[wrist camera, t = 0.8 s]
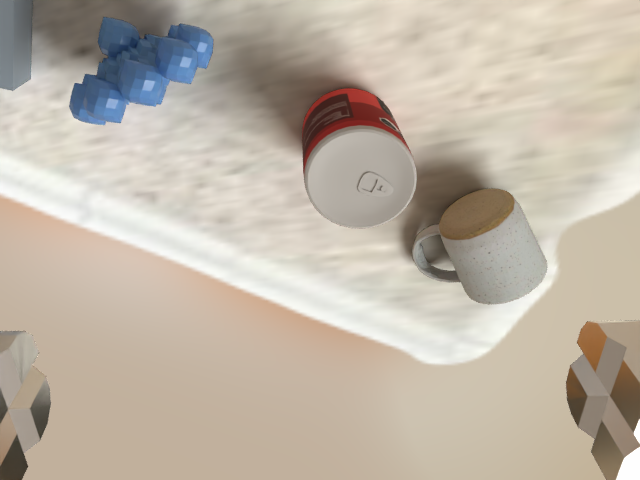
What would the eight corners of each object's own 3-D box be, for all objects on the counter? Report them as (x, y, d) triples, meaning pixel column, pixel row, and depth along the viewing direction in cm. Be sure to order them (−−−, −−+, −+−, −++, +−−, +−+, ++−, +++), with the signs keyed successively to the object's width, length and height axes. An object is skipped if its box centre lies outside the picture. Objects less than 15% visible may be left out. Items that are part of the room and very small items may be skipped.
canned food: (387, 174, 53) (408, 233, 44) (298, 167, 52) (299, 226, 43) (401, 89, 49) (427, 133, 40) (305, 81, 49) (309, 123, 39)
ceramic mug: (499, 171, 53) (527, 209, 47) (531, 238, 57) (561, 283, 50) (394, 224, 56) (406, 268, 49) (431, 286, 59) (447, 335, 53)
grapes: (191, -34, 44) (160, -16, 34) (237, 49, 47) (222, 89, 37) (63, 39, 46) (-3, 78, 36) (116, 115, 49) (68, 170, 39)
